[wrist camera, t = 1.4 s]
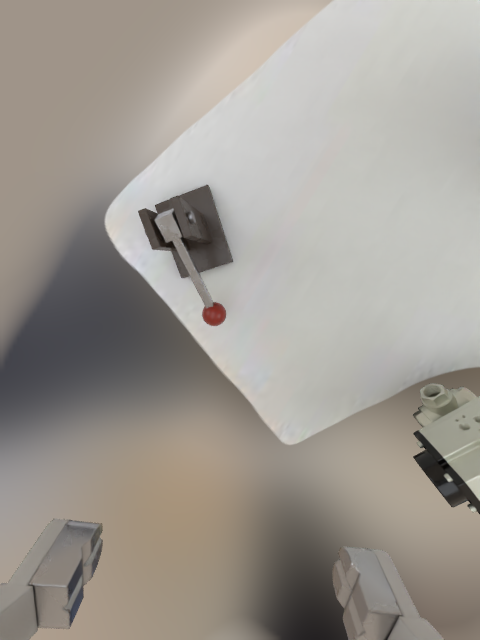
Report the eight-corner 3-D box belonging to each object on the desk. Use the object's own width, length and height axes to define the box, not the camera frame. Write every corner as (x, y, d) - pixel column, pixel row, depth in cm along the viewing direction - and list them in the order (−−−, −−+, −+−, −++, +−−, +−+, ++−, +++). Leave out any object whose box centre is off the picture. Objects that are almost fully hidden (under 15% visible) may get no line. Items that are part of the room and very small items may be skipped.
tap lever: (229, 312, 40) (229, 326, 38) (208, 319, 41) (207, 333, 38) (180, 204, 30) (176, 212, 27) (154, 214, 31) (147, 223, 28)
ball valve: (471, 353, 42) (614, 419, 25) (496, 390, 43) (650, 476, 26) (377, 410, 46) (445, 500, 29) (402, 442, 47) (482, 547, 30)
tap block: (233, 261, 42) (219, 262, 29) (183, 277, 43) (149, 286, 30) (209, 187, 40) (182, 151, 26) (158, 206, 41) (108, 182, 28)
